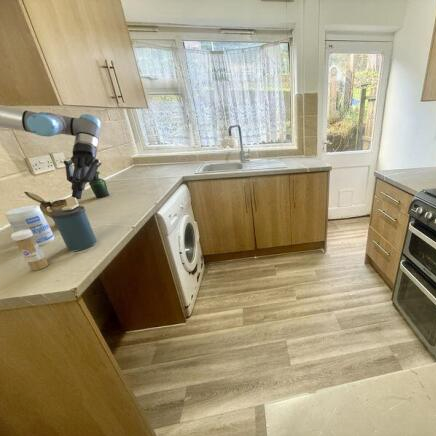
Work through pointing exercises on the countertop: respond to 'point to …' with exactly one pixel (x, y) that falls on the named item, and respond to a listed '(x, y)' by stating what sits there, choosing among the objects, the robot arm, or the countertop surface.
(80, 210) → the tumbler
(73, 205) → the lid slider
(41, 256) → the sprinkles bottle
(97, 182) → the potion bottle
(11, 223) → the supplement tub
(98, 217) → the countertop surface
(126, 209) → the countertop surface
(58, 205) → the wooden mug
